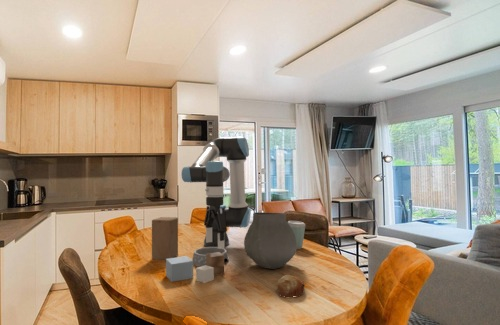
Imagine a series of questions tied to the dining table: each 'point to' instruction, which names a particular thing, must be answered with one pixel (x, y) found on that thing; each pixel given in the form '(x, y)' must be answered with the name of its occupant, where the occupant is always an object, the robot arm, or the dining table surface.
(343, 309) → the dining table surface
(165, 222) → the wooden block
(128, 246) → the dining table surface
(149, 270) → the dining table surface
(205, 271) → the grey cube
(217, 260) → the walnut block
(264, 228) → the ceramic pot
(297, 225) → the disposable coffee cup
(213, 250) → the dog bowl
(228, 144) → the robot arm
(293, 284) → the bread roll
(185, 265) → the slate block
